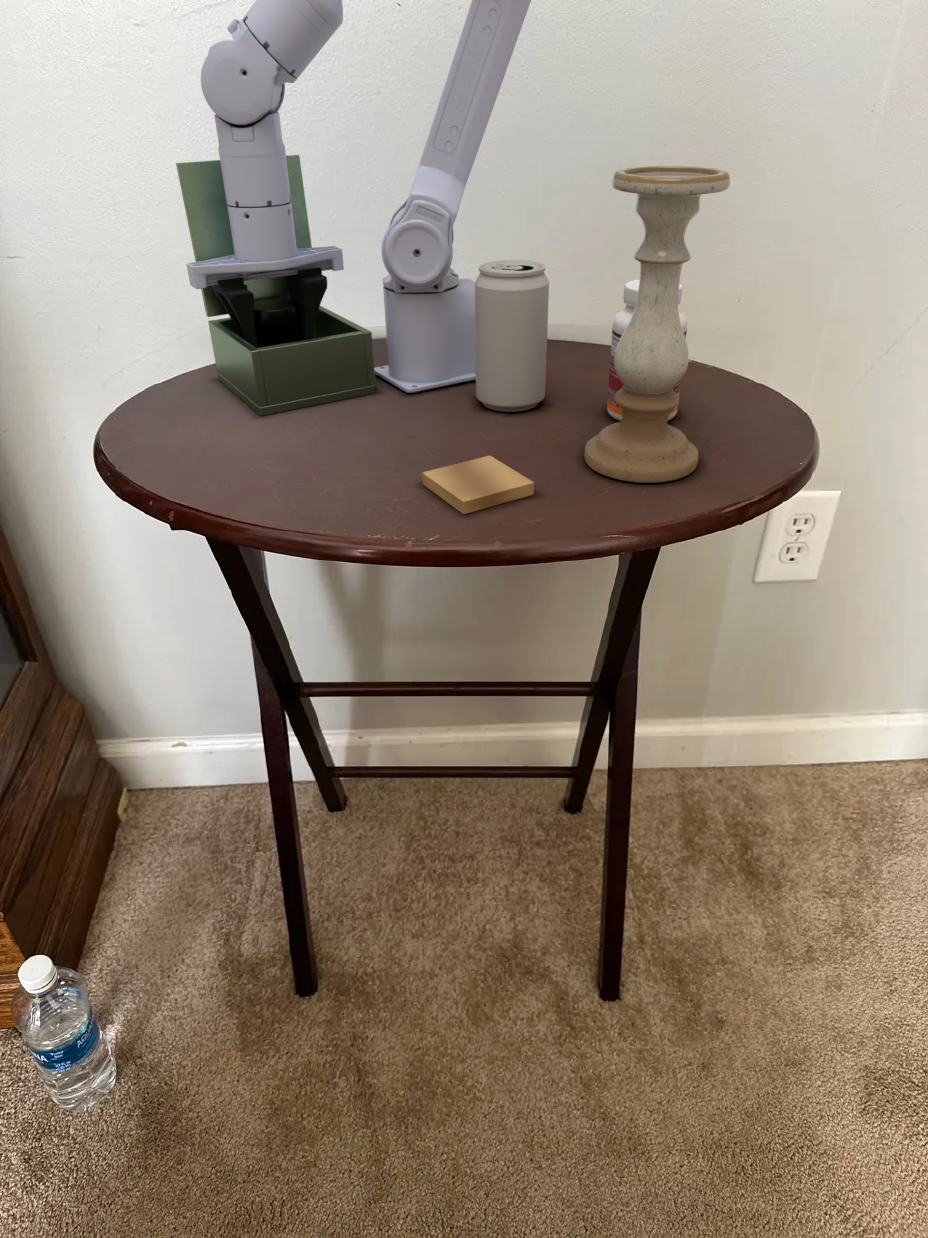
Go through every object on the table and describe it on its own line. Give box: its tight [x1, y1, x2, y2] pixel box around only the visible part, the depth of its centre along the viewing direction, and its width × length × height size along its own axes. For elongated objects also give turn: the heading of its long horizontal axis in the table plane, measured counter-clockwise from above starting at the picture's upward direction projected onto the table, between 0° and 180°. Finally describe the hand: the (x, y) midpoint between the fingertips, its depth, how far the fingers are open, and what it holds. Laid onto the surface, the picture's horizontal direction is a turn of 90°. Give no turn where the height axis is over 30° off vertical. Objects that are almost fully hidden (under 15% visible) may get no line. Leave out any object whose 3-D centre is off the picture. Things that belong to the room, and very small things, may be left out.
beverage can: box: [474, 259, 550, 413], centre depth 75 cm, size 6×6×12 cm
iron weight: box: [254, 299, 302, 348], centre depth 83 cm, size 5×5×6 cm
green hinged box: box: [207, 305, 377, 417], centre depth 82 cm, size 13×12×6 cm
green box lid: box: [175, 154, 313, 318], centre depth 81 cm, size 13×12×1 cm
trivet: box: [421, 455, 535, 515], centre depth 62 cm, size 6×6×1 cm
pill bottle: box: [606, 279, 688, 422], centre depth 72 cm, size 6×6×11 cm
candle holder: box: [583, 165, 731, 484], centre depth 61 cm, size 9×9×20 cm
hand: (279, 355), depth 84 cm, fingers closed on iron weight, 5 cm apart
